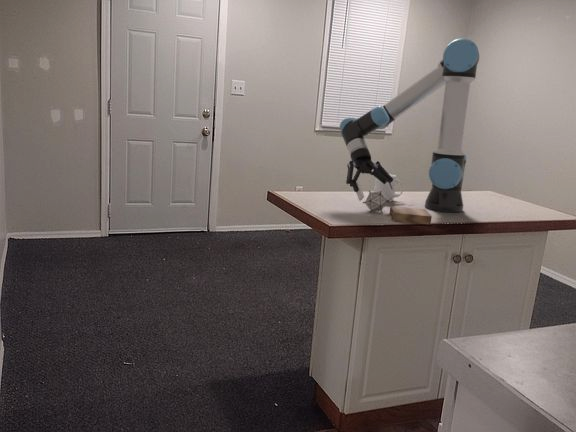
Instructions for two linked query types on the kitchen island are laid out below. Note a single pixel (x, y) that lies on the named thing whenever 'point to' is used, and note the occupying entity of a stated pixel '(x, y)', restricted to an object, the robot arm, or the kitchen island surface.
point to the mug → (380, 186)
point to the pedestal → (410, 215)
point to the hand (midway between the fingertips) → (376, 198)
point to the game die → (375, 201)
